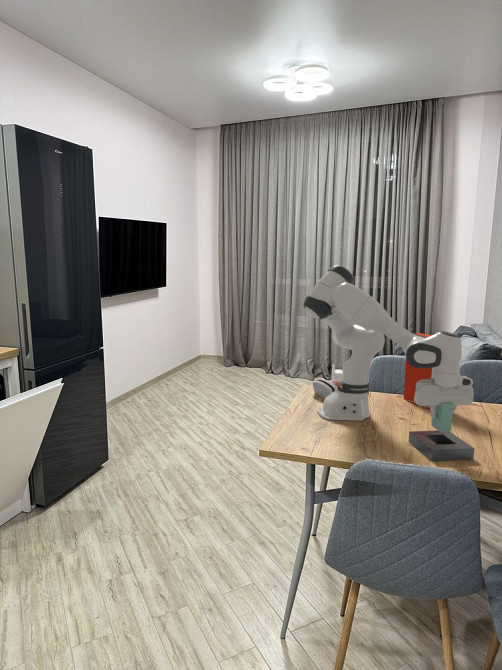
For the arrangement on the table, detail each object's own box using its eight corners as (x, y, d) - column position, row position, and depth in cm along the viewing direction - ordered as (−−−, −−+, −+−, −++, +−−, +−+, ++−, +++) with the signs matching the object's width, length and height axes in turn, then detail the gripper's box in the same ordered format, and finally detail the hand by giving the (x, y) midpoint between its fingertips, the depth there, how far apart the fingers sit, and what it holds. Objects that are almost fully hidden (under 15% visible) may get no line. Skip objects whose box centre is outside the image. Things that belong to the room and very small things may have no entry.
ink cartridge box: (343, 396, 229) (344, 367, 226) (332, 396, 229) (334, 367, 227) (340, 391, 237) (341, 363, 235) (330, 391, 237) (331, 363, 235)
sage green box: (440, 431, 161) (442, 403, 159) (431, 425, 167) (433, 398, 165) (451, 431, 162) (453, 403, 160) (441, 425, 167) (444, 398, 166)
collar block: (431, 461, 156) (432, 449, 156) (408, 441, 173) (409, 431, 172) (473, 459, 158) (474, 448, 158) (446, 440, 175) (447, 430, 174)
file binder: (429, 409, 211) (435, 339, 206) (403, 399, 226) (407, 333, 221) (443, 407, 214) (448, 338, 209) (415, 397, 230) (420, 332, 224)
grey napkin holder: (343, 401, 221) (338, 382, 218) (335, 405, 219) (329, 387, 217) (322, 392, 236) (317, 374, 233) (315, 396, 234) (310, 378, 231)
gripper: (421, 381, 157) (418, 421, 159) (477, 380, 160) (474, 419, 162) (412, 376, 163) (409, 414, 165) (467, 375, 166) (463, 413, 168)
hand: (441, 417), depth 164 cm, fingers closed on sage green box, 4 cm apart
